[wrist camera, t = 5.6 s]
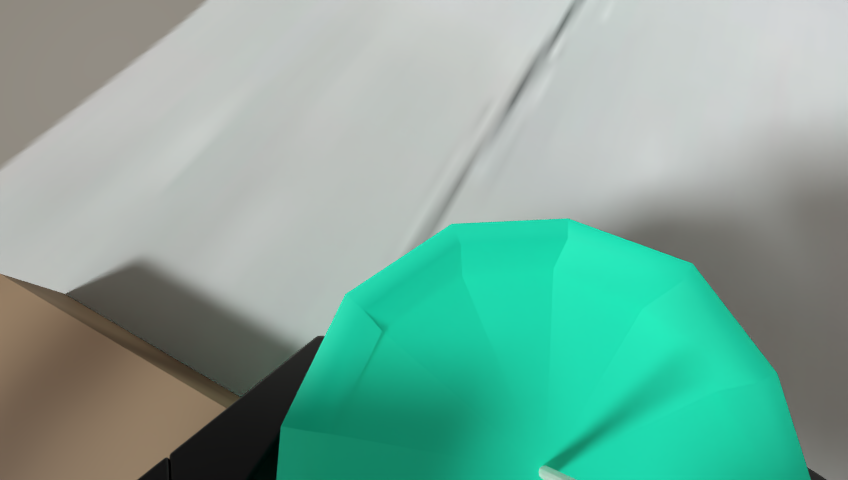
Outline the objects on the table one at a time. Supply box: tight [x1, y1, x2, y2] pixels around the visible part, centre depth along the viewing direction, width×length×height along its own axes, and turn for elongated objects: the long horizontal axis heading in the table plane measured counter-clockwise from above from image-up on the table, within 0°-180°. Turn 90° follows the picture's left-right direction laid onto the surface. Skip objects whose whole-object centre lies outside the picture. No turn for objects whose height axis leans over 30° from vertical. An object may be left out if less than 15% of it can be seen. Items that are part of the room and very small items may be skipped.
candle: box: [276, 219, 811, 480], centre depth 8 cm, size 6×6×12 cm
